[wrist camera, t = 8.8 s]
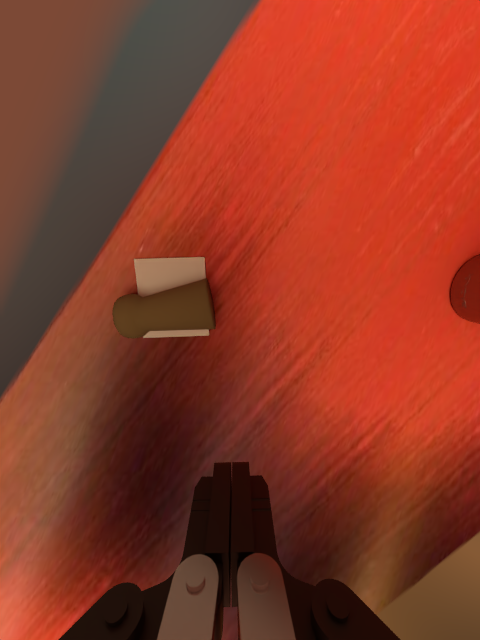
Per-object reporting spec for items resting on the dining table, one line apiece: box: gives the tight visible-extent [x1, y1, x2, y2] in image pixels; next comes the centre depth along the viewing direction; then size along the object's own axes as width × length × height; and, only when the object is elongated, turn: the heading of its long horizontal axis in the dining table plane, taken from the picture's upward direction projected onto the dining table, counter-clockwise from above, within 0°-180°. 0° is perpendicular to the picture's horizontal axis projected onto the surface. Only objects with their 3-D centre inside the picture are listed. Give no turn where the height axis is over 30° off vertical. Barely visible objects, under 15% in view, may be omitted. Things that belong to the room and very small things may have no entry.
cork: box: [113, 278, 216, 338], centre depth 31 cm, size 6×6×11 cm
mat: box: [134, 257, 209, 338], centre depth 33 cm, size 8×10×1 cm
